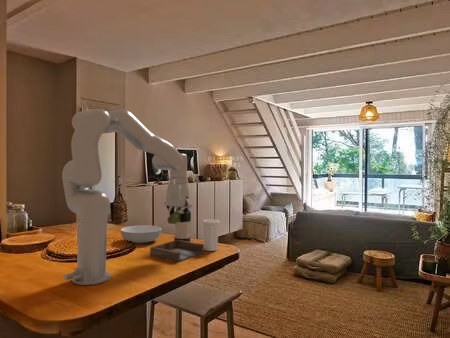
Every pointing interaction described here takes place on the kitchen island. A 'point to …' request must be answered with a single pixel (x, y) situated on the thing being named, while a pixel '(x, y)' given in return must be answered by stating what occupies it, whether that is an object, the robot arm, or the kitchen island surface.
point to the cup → (211, 234)
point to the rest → (176, 250)
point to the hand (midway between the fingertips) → (177, 220)
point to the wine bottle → (183, 228)
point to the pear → (174, 217)
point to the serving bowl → (141, 233)
